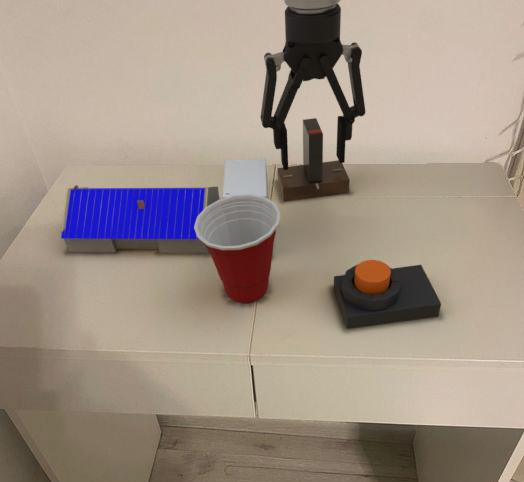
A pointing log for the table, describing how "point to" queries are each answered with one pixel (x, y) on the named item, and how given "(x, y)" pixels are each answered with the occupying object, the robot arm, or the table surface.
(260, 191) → the cosmetics box
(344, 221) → the table surface
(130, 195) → the roof
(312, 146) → the dark grey block
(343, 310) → the switch button base
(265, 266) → the plastic cup
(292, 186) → the dial panel
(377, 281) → the switch button
